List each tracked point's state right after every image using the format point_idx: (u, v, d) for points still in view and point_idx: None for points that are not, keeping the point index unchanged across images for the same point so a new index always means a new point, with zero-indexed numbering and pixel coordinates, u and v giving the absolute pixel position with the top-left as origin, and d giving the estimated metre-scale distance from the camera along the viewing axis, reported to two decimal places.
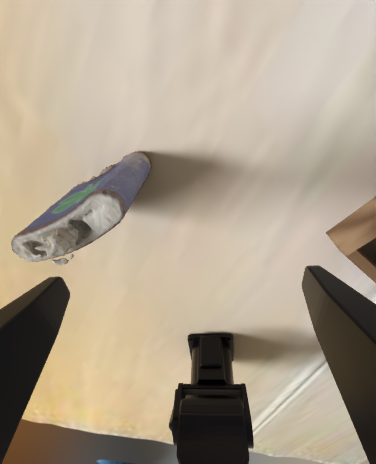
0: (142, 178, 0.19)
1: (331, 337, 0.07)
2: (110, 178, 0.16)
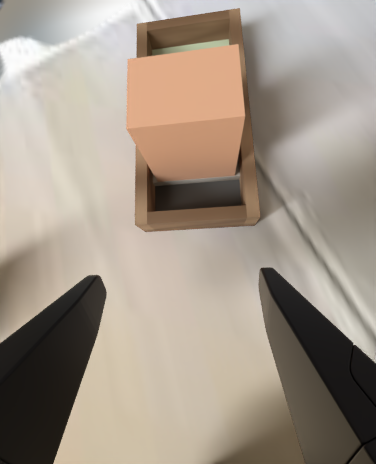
0: None
1: (276, 338, 0.07)
2: None
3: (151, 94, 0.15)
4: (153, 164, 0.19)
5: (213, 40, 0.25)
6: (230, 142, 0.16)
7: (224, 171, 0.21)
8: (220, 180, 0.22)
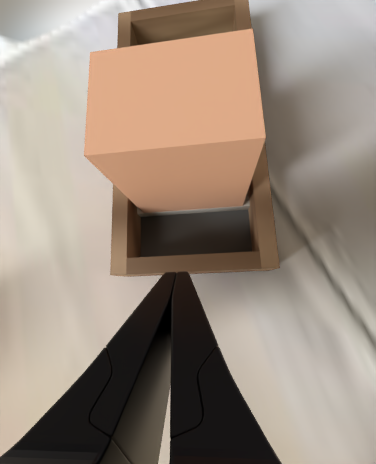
0: None
1: None
2: None
3: (122, 103, 0.10)
4: (134, 196, 0.14)
5: (214, 33, 0.20)
6: (239, 170, 0.11)
7: (229, 202, 0.16)
8: (224, 210, 0.17)
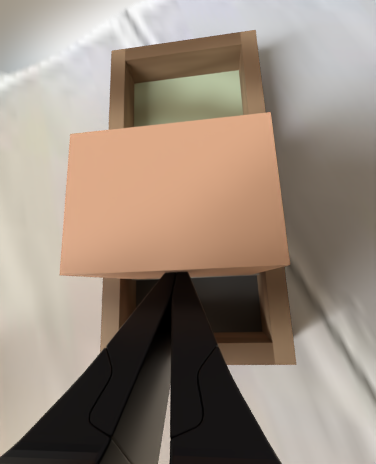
0: None
1: None
2: None
3: (108, 206, 0.08)
4: None
5: (218, 71, 0.18)
6: (252, 270, 0.09)
7: None
8: (229, 276, 0.16)
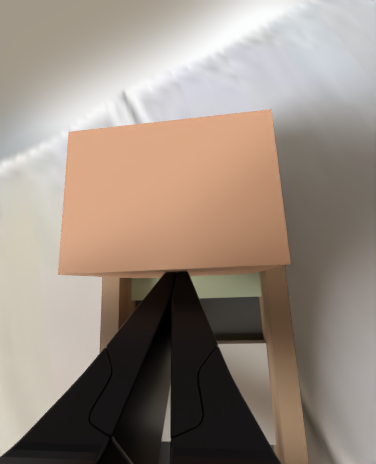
0: None
1: None
2: None
3: (107, 205, 0.08)
4: None
5: None
6: (252, 269, 0.09)
7: None
8: None
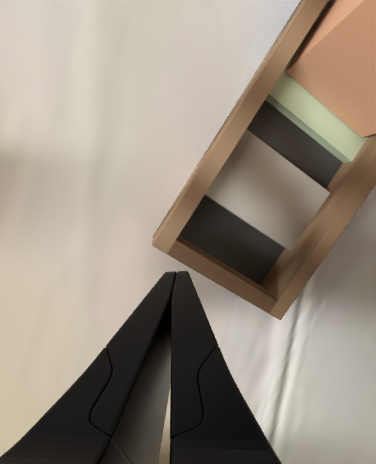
0: None
1: None
2: None
3: None
4: (326, 46, 0.12)
5: None
6: None
7: (364, 125, 0.15)
8: (267, 237, 0.18)
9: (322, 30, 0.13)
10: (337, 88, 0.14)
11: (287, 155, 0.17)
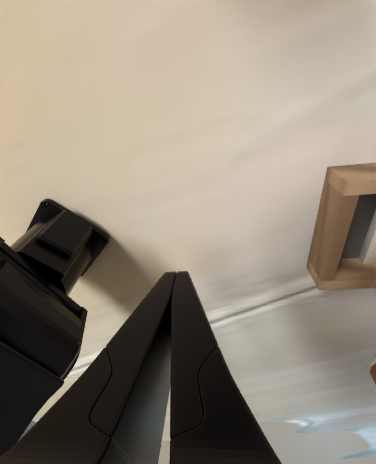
0: None
1: None
2: None
3: None
4: None
5: None
6: None
7: None
8: (364, 243, 0.21)
9: None
10: None
11: None
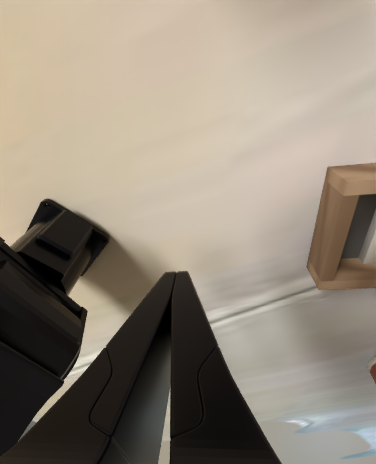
0: None
1: None
2: None
3: None
4: None
5: None
6: None
7: None
8: (364, 243, 0.21)
9: None
10: None
11: None
